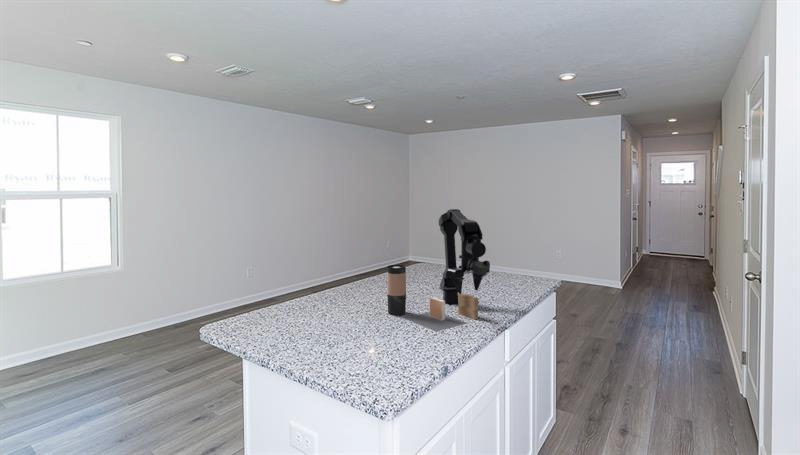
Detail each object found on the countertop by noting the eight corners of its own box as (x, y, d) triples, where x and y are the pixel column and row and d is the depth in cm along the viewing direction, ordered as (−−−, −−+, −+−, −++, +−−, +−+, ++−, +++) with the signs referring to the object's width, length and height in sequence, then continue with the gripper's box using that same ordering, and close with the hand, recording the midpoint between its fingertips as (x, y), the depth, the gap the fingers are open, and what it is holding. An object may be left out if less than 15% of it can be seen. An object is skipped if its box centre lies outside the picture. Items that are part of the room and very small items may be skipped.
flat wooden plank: (458, 315, 173) (458, 293, 172) (461, 314, 174) (462, 293, 173) (474, 321, 166) (474, 298, 165) (478, 320, 167) (478, 297, 166)
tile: (429, 315, 171) (429, 297, 170) (432, 315, 172) (432, 297, 171) (442, 320, 165) (442, 301, 164) (445, 319, 166) (445, 300, 165)
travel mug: (409, 312, 177) (408, 265, 175) (401, 317, 170) (401, 268, 168) (392, 310, 180) (392, 264, 178) (384, 315, 173) (383, 267, 172)
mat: (403, 319, 168) (402, 318, 168) (433, 312, 178) (433, 311, 178) (436, 332, 152) (436, 331, 152) (467, 324, 162) (468, 323, 162)
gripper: (466, 258, 156) (465, 300, 157) (500, 253, 167) (499, 292, 168) (445, 254, 165) (445, 294, 166) (479, 250, 176) (478, 287, 177)
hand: (468, 292), depth 169 cm, fingers open, 9 cm apart
